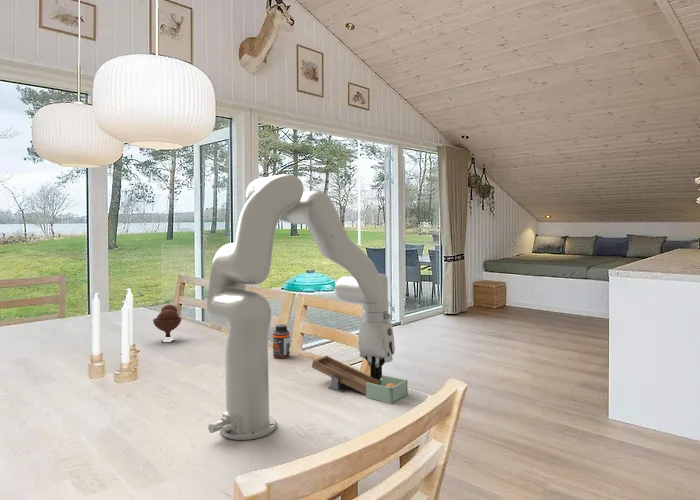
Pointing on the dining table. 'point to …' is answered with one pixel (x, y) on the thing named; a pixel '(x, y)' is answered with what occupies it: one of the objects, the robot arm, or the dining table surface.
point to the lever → (344, 373)
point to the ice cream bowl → (167, 319)
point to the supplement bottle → (281, 342)
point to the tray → (387, 390)
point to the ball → (390, 385)
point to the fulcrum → (337, 385)
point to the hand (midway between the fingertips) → (376, 379)
